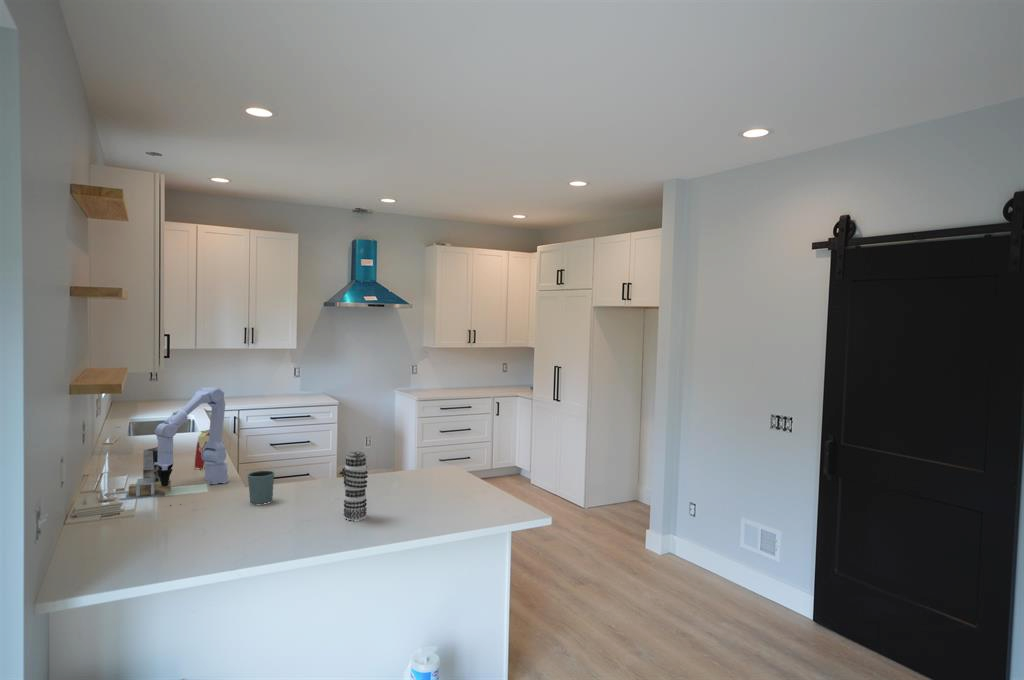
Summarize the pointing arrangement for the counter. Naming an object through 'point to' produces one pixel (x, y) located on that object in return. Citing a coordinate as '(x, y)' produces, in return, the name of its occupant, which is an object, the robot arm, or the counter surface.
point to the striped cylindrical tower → (355, 486)
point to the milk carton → (201, 449)
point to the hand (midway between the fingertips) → (165, 483)
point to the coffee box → (151, 464)
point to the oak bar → (147, 489)
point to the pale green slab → (174, 491)
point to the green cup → (261, 486)
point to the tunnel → (145, 482)
